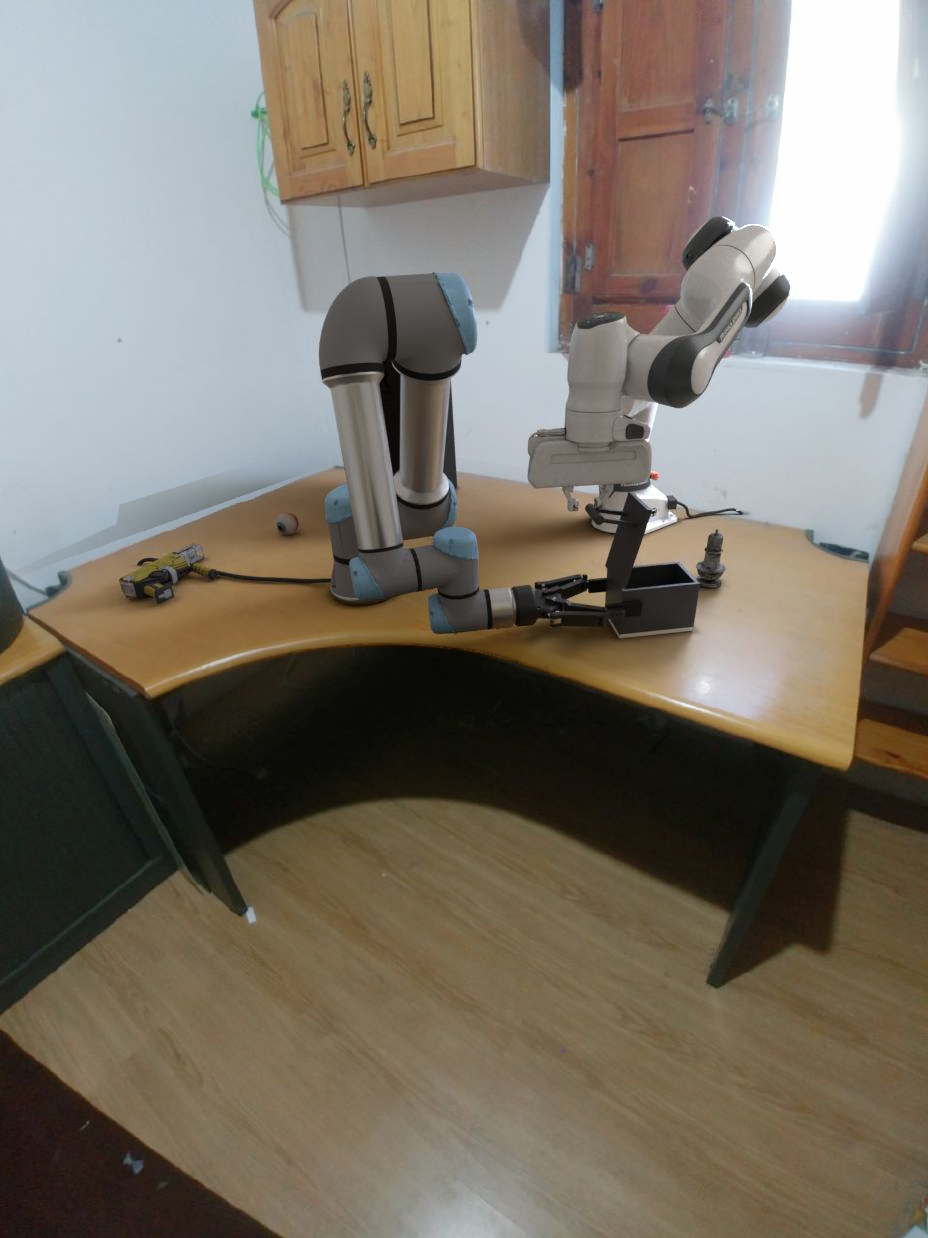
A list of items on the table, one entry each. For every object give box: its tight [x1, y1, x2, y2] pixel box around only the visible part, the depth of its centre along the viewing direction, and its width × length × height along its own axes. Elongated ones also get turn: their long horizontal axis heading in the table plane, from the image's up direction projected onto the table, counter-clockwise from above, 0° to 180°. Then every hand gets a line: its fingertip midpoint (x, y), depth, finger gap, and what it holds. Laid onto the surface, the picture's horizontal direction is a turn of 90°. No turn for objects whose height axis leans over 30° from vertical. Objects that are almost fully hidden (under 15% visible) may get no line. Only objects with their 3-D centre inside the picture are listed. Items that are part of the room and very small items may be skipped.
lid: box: [584, 492, 652, 589], centre depth 106 cm, size 15×9×9 cm
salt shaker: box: [695, 528, 727, 589], centre depth 125 cm, size 6×6×12 cm
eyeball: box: [275, 511, 300, 536], centre depth 163 cm, size 6×6×6 cm
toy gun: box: [118, 542, 219, 605], centre depth 141 cm, size 5×24×15 cm
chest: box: [604, 561, 701, 639], centre depth 113 cm, size 14×9×10 cm
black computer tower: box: [379, 361, 458, 490], centre depth 169 cm, size 38×20×45 cm, turn 167°
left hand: (630, 595), depth 112 cm, fingers closed on chest, 9 cm apart
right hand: (585, 509), depth 103 cm, fingers open, 3 cm apart
